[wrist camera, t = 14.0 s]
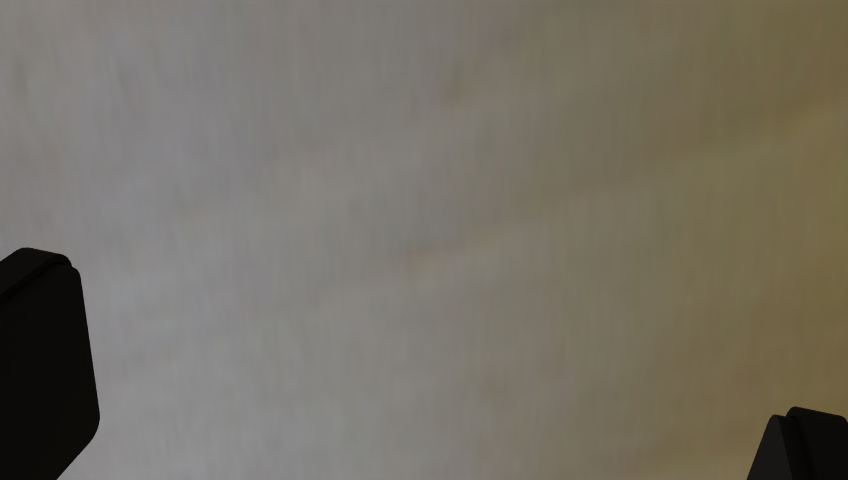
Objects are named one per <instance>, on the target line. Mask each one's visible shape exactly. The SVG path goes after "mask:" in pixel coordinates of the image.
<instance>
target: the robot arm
mask: <svg viewBox="0 0 848 480" xmlns="http://www.w3.org/2000/svg"><path fill="white" fill-rule="evenodd" d="M99 420H100V412H99V405H98V398H97V390H96V383H95V376H94V369H93V362H92V355H91V348H90V341H89V333H88V326H87V319H86V312H85V305H84V298H83V291H82V284H81V277H80V274H79V272H78V270H77V269H75V268H73V267H72V265H71V262H70V260H69V259H68V258H67V257H66V256H64V255H62V254H57V253H53V252H48V251H43V250H38V249H33V248H21V249H19V250H16V251H15V252H13V253H12V254H10V255H9V256H8V257H6V258H5V259H3V260H2V261H0V480H57V479H58V477H59V476H60V475H61V474H62V473H63V472H64V471H65V470H66V468H67V467H68V466H69V465H70V464H71V463H72V462H73V461H74V459H75V458H76V457H77V456H78V455H79V454H80V453H81V452H82V450H83V449H84V448H85V447H86V446H87V445H88V444H89V443H90V441H91V440H92V439H93V437H94V435H95V433H96V431H97V429H98V426H99ZM747 480H848V422H847V420H846V418H844V417H842V416H839V415H834V414H829V413H825V412H820V411H815V410H810V409H805V408H800V407H796V406H795V407H792V408H791V409H790V410H789V411H788V413H787V415H786V417H785V416H780V415H772V417H771V418H770V419H769V422H768V424H767V426H766V429H765V432H764V434H763V437H762V440H761V442H760V445H759V448H758V451H757V453H756V456H755V459H754V461H753V464H752V467H751V469H750V472H749V475H748V477H747Z"/></svg>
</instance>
